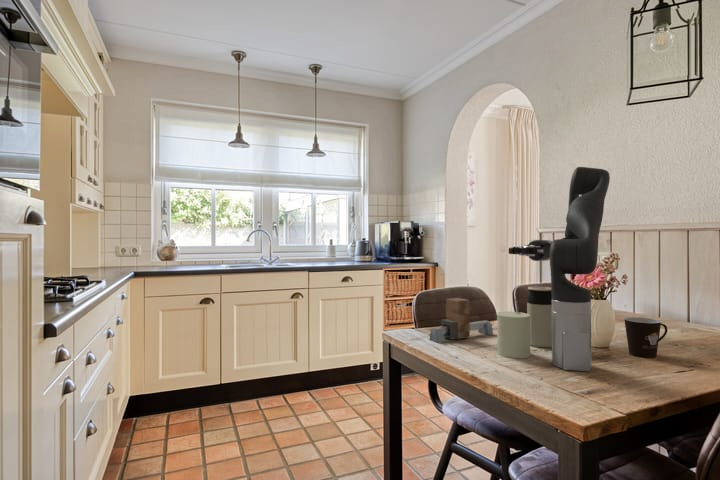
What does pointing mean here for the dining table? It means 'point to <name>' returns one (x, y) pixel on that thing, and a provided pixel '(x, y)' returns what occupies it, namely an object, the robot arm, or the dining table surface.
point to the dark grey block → (452, 328)
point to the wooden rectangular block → (459, 315)
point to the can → (513, 334)
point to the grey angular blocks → (440, 334)
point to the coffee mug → (643, 336)
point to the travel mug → (540, 316)
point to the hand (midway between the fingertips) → (510, 250)
